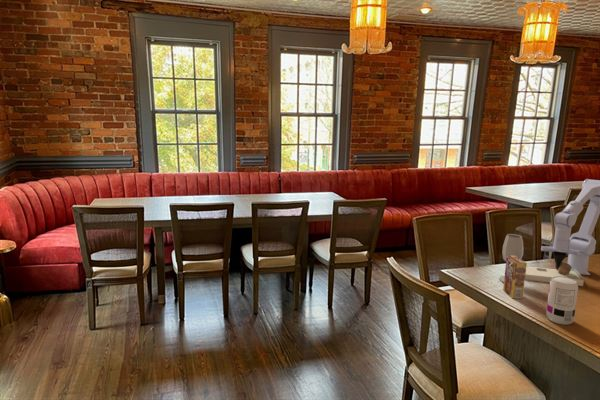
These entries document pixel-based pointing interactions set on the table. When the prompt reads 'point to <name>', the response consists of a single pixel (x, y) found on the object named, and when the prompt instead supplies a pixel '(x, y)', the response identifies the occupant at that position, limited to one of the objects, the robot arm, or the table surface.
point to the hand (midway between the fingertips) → (557, 268)
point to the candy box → (514, 277)
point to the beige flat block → (551, 275)
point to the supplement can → (562, 300)
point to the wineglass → (512, 248)
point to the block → (564, 268)
